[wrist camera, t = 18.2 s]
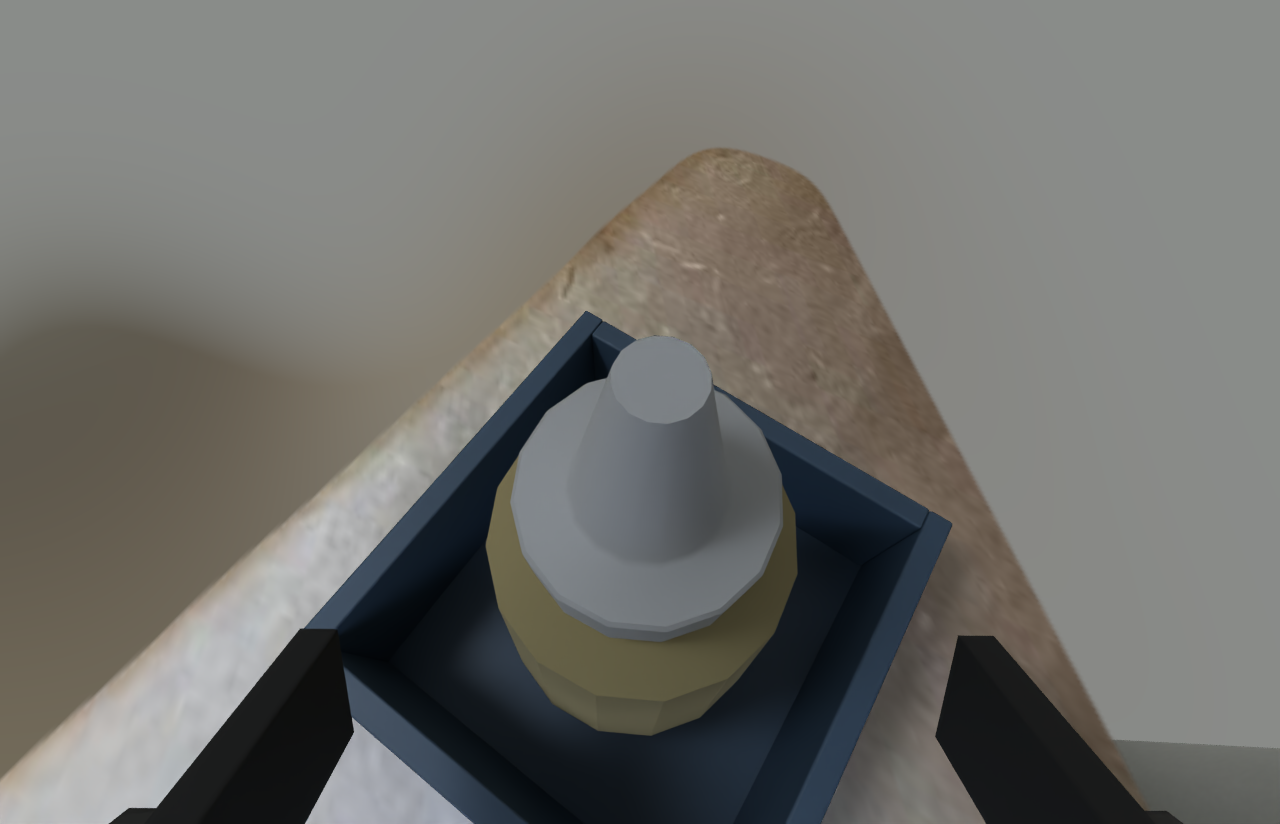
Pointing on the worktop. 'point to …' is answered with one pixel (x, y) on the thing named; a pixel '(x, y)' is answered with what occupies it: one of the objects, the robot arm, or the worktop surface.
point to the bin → (607, 761)
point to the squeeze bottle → (642, 544)
